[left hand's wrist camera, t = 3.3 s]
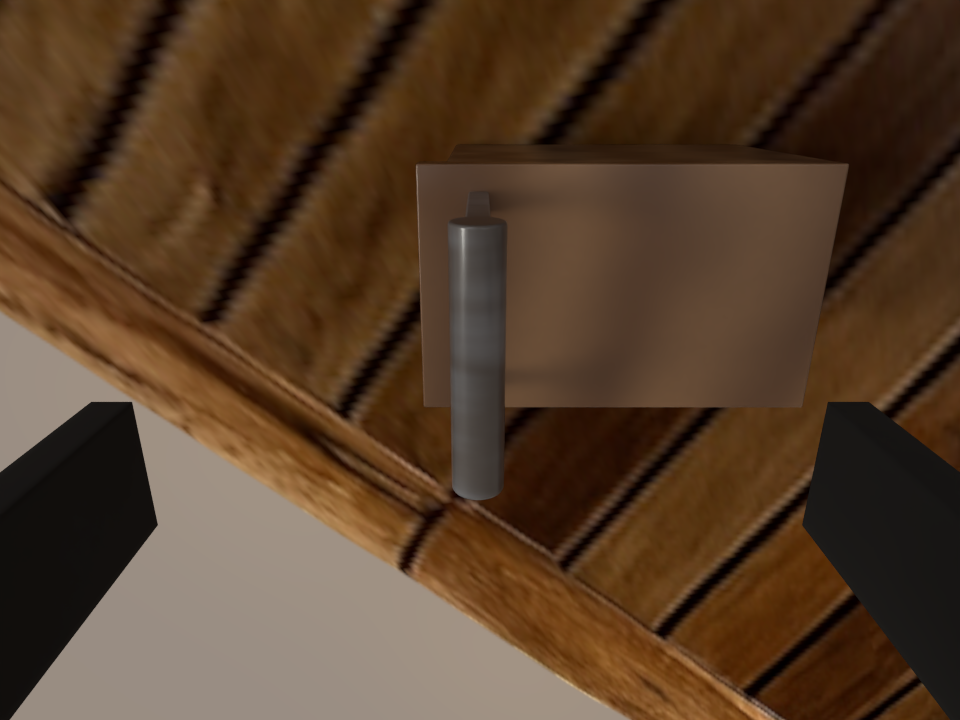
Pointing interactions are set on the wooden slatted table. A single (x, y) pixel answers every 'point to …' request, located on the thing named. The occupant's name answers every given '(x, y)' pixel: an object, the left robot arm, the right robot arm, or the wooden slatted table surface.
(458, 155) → the chest
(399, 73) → the wooden slatted table surface
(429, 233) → the lid
